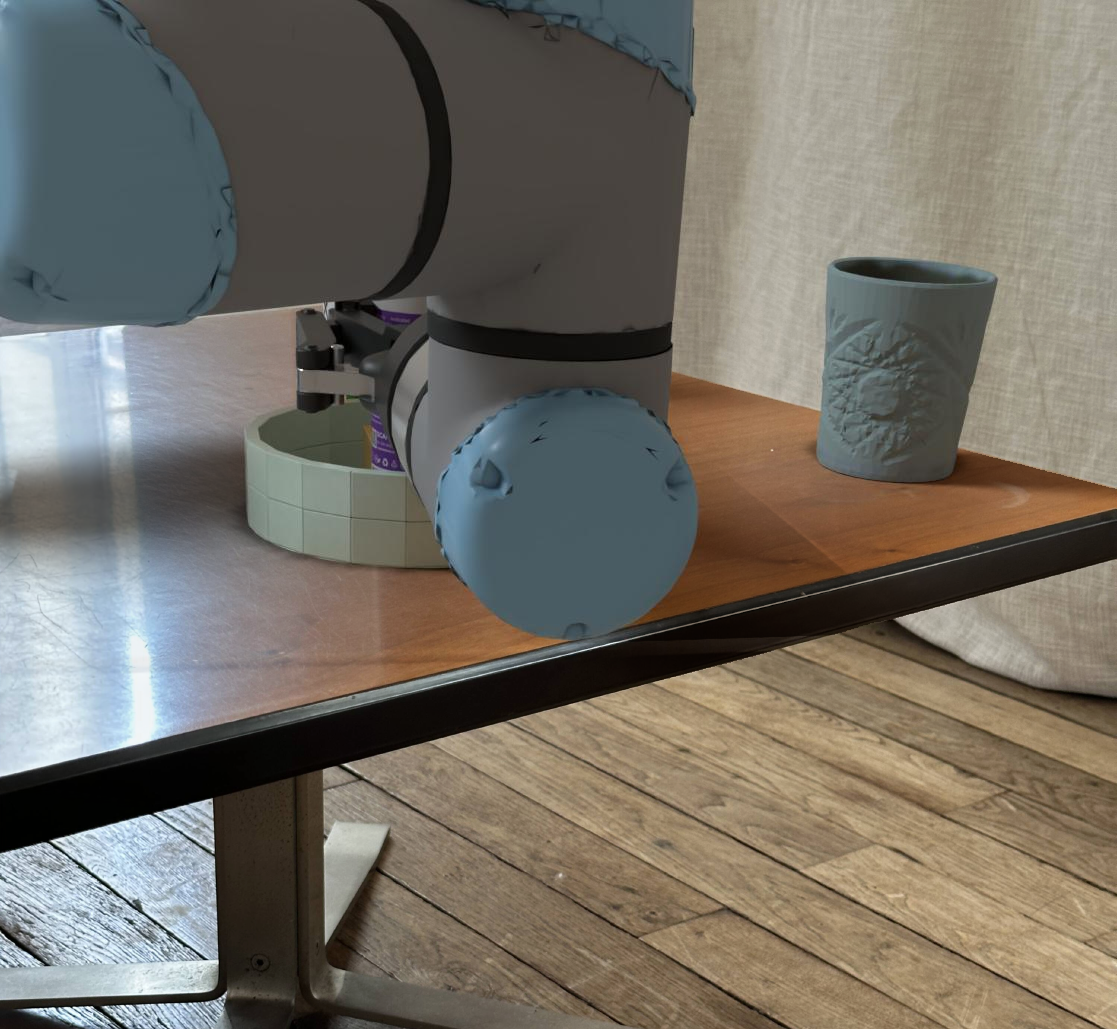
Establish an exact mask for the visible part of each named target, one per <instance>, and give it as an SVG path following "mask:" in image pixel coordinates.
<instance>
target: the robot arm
mask: <svg viewBox="0 0 1117 1029" xmlns="http://www.w3.org/2000/svg"><path fill="white" fill-rule="evenodd" d="M694 7H695V0H0V318H2V319H5V320H8V321H12V322H14V323H22V324H28V325H51V326H52V325H54V326H55V325H56V326H57V325H59V326H60V325H63V326H64V325H67V326H76V325H77V326H140V327H146V328H163V327H164V328H165V327H174V326H182V325H186V324H187V323H190V322H191V321H193V320H194V319H196V318H198V317H206V316H216V315H226V314H235V313H244V312H252V311H263V310H272V309H280V308H289V307H299V306H307V305H309V306H310V305H316V304H323V303H327V302H335V308H331V309H329V310H328V320H326V318H325V316H324V314H323V311H319V310H316V308H312V307H306V308H303V309H302V308H301V309H300V310H297V311H295V344H296V347H295V381H296V382H295V389H296V395H295V396H296V405H297V409H298V410H302V411H306V413H318V411H323V410H326V409H327V408H328V407H330V406H331V405H333V406H342V405H344V404H345V402H344V399H345V396H346V395H354V396H359V400H360V402H361V404H362V406H363V407H364V408H365V409H367V410H368V411H371V412H373V413H376V414H379V417H380V420H381V423H382V426H383V429H384V431H385V434H386V436H387V438H388V440H389V442H390V444H391V446H392V448H393V450H394V452H395V454H396V456H397V458H398V459H399V461H400V463H401V464H402V466H403V468H404V470H405V472H406V473H407V475H408V477H409V479H410V481H411V483H412V485H413V487H414V489H415V491H416V493H417V494H418V496H419V498H420V500H421V501H422V505H423V506H424V507H425V509H426V511H427V513H428V515H429V517H430V519H431V522H432V524H433V526H434V531H435V537H436V541H437V542H438V543H439V544H440V545H441V546H442V547H443V548H442V549H441V553H442V555H443V556H444V558H445V559H446V560H447V561H448V563H449V566H450V567H449V568H450V572H451V573H452V574H453V575H454V576H455V577H456V578H457V580H458V581H460V583H462V585H464V586H465V587H466V588H469V589H470V590H471V592H472V593H473V594H474V596H475V597H476V599H478V600H479V602H480V603H481V604H482V605H483V606H484V607H485V608H486V609H487V610H488V611H489V612H490V613H491V614H493V615H494V616H496V617H497V618H498V619H499V620H501V621H502V622H504V623H506V624H507V625H509V626H511V627H513V628H515V629H517V630H520V631H522V632H524V633H527V634H530V635H532V636H535V637H538V638H544V639H549V640H550V639H551V640H562V641H563V640H564V641H565V640H566V641H571V642H573V641H579V640H586V639H593V638H598V637H601V636H605V635H608V634H610V633H613V632H616V631H618V630H620V629H623V628H625V627H626V626H628V625H630V624H632V623H635V622H636V621H638V620H639V619H641V618H642V617H644V616H646V615H647V614H648V613H649V612H650V611H651V610H652V609H653V608H654V607H656V606H657V605H658V604H659V603H660V602H661V601H662V600H663V599H664V598H665V597H667V595H668V594H669V593H670V592H671V591H672V589H673V588H674V586H675V585H676V584H677V581H679V579H680V577H681V575H682V574H683V572H684V571H685V568H686V566H687V564H688V562H689V559H690V557H691V554H692V552H693V549H694V546H695V542H696V539H697V533H698V528H699V526H698V525H699V499H698V498H699V497H698V492H697V486H696V482H695V479H694V477H693V473H692V470H691V467H690V465H689V463H688V461H687V460H686V458H685V454H684V451H683V449H682V447H681V446H680V444H679V442H678V441H677V440H676V439H675V437H674V436H673V435H672V430H671V427H670V425H669V424H668V420H669V419H668V417H669V406H670V396H671V395H670V394H671V382H672V371H673V354H674V353H673V352H674V343H673V342H672V334H673V321H674V315H675V314H674V313H675V302H676V301H675V300H676V290H677V279H678V266H679V264H678V263H679V254H680V245H681V244H680V242H681V230H682V219H683V207H684V206H683V205H684V195H685V184H686V183H685V182H686V171H687V159H688V147H689V137H690V136H689V135H690V125H691V124H690V123H691V118H692V117H695V112H696V109H697V108H696V107H697V101H698V100H697V96H696V94H695V90H694V86H693V78H694V77H693V76H694V54H695V53H694V49H695V27H694V9H695V8H694ZM416 297H427V308H428V310H427V312H426V313H425V314H423V315H422V316H420V317H419V318H417V319H416V320H415V321H414V322H413V323H411V324H405V325H390V324H388V323H386V322H384V321H382V320H380V319H378V318H376V317H375V304H374V303H373V302H372V301H383V300H394V299H405V298H416Z"/></svg>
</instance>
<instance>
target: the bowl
mask: <svg viewBox="0 0 1117 1029" xmlns="http://www.w3.org/2000/svg"><path fill="white" fill-rule="evenodd" d="M344 402H345V404H344V405H342V406H333V405H331V406H330V407H328V408H327V409H326V410H323V411H318V413H306V411H302V410H298V409H297V404H296V405H291V406H285V407H282V408H279V409H275V410H271V411H269V412H267V413H264V414H260V415H258V416H257V417H255V418H254V419H253V420H252V421H250V422H249V423H248V424H247V425H246V426H245V427H244V428H243V445H244V446H243V448H244V470H245V472H244V478H245V509H246V510H245V511H246V517H247V524H248V527H249V528H250V529H251V530H252V531H253V532H254V533H255V534H256V535H258V536H259V537H261V539H263V540H265V541H267V542H269V543H271V544H273V545H274V546H277V547H280V548H283V549H286V550H288V551H291V552H294V553H297V554H300V555H304V556H307V557H308V556H309V557H312V558H317V559H321V560H327V561H332V562H338V563H343V564H351V565H359V566H366V567H367V566H369V567H370V566H371V567H381V568H397V569H400V568H401V569H441V568H442V569H443V568H444V569H445V568H450V566H449V563H448V561H447V560H446V559H445V558H444V556H443V555H442V553H441V549H442V548H443V547H442V546H441V545H440V544H439V543H438V542H437V541H436V537H435V531H434V526H433V524H432V522H431V519H430V517H429V515H428V513H427V511H426V509H425V507H424V506H423V505H422V501H421V500H420V498H419V496H418V494H417V493H416V491H415V489H414V487H413V485H412V483H411V481H410V479H409V477H408V475H407V473H406V472H400V471H386V470H373V469H363V425H371V411H368V410H367V409H365V408H364V407H363V406H362V404H361V402H360V400H359V398H358V399H346V398H344Z"/></svg>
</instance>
